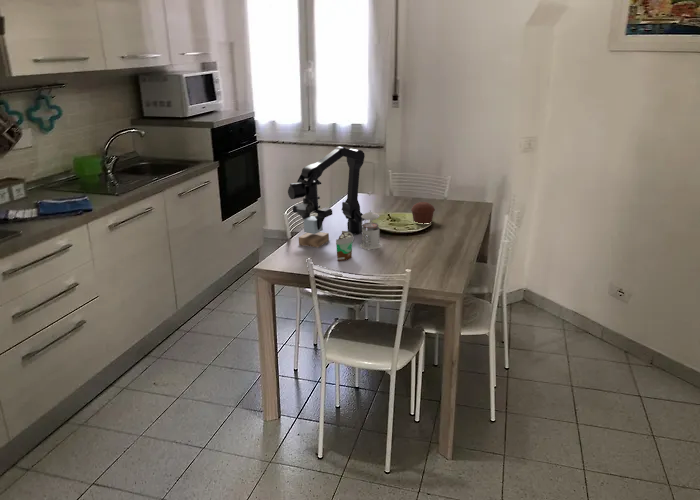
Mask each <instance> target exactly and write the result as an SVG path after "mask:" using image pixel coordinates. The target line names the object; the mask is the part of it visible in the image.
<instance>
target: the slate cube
mask: <svg viewBox="0 0 700 500" xmlns="http://www.w3.org/2000/svg"><path fill="white" fill-rule="evenodd" d="M315 217H316V216H315V215H310V217H308V218H305V219H303V218H302V219H303V232H304V233H312V234H316V233H318V232H322V231H324V229H323V227H324V226H323V224H322V225H321V228H320V230H318V227H317V219H316V218H315Z"/></svg>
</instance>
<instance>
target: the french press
mask: <svg viewBox="0 0 700 500" xmlns="http://www.w3.org/2000/svg"><path fill="white" fill-rule="evenodd" d="M372 194H373V191H368V192H367V195H372ZM362 214H363V215H362V216H361V217H362V220H363V219H364V221H369V222H364V223H362V232H361V235H362V236H361V237H362V240H361V241H362V242H361V243H360V245H359V247H360V248H361V249H364V250H377V249H380V248H381V247H382V246H383V244H382V243H380V241H381V240H380V227H379V224H378V223H377V222H372V221H373V220H376V219H377V220H378V219H379V218H380V215H379V214H378V213H376V212H371V211H368V212H365V213H362Z"/></svg>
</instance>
